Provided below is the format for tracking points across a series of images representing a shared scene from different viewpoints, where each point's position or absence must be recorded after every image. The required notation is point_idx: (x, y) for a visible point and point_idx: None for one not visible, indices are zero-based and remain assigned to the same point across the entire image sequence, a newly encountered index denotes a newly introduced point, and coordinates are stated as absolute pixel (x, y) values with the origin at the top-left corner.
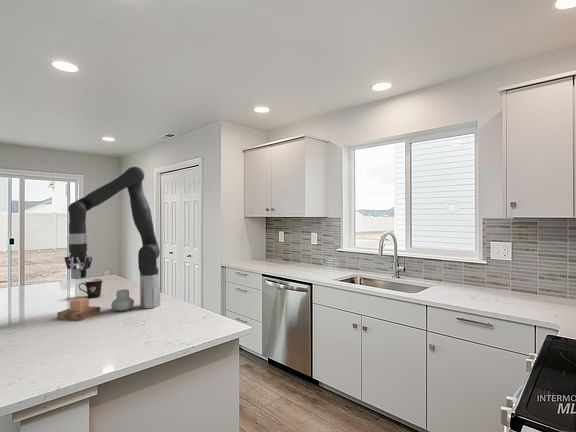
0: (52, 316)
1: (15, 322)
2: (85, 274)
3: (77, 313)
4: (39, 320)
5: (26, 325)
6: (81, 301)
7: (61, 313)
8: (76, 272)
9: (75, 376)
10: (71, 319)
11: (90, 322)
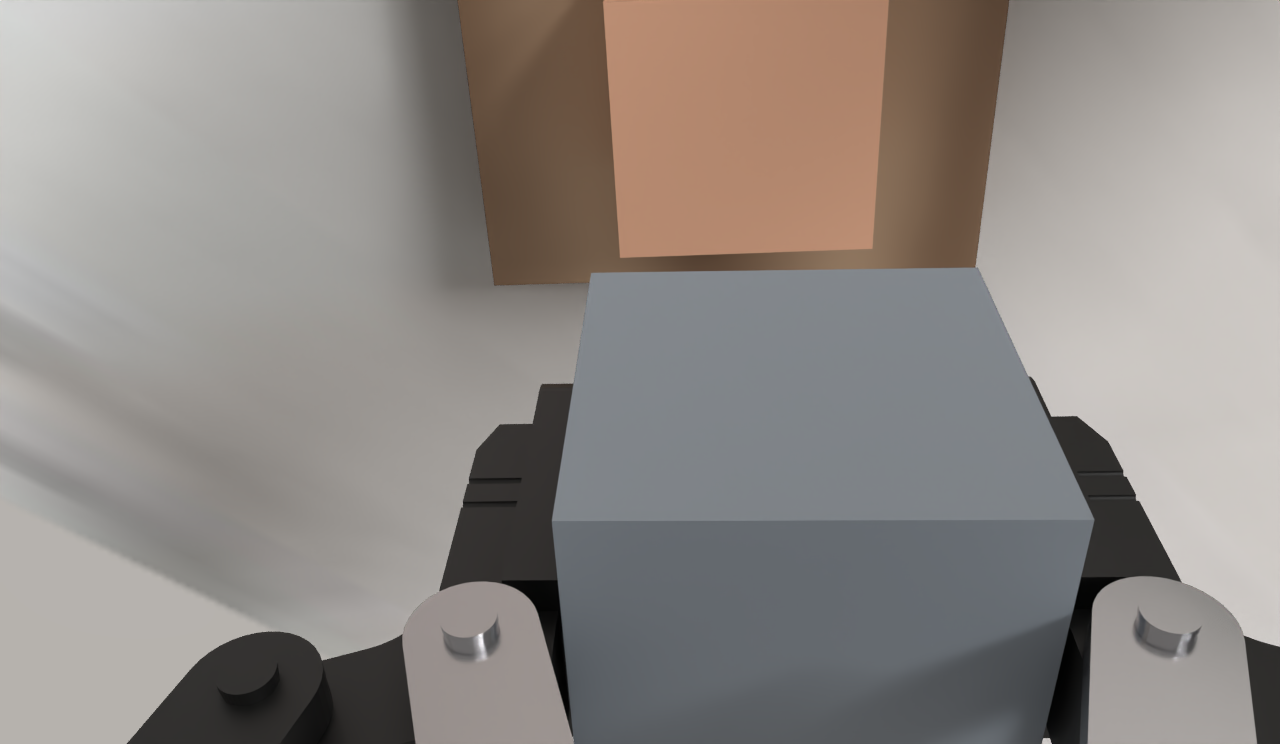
0: (294, 149)
1: (94, 453)
2: (1100, 490)
3: (880, 253)
4: (312, 336)
5: (368, 505)
6: (870, 197)
7: (576, 277)
8: None
9: None
10: None
11: (1159, 262)
